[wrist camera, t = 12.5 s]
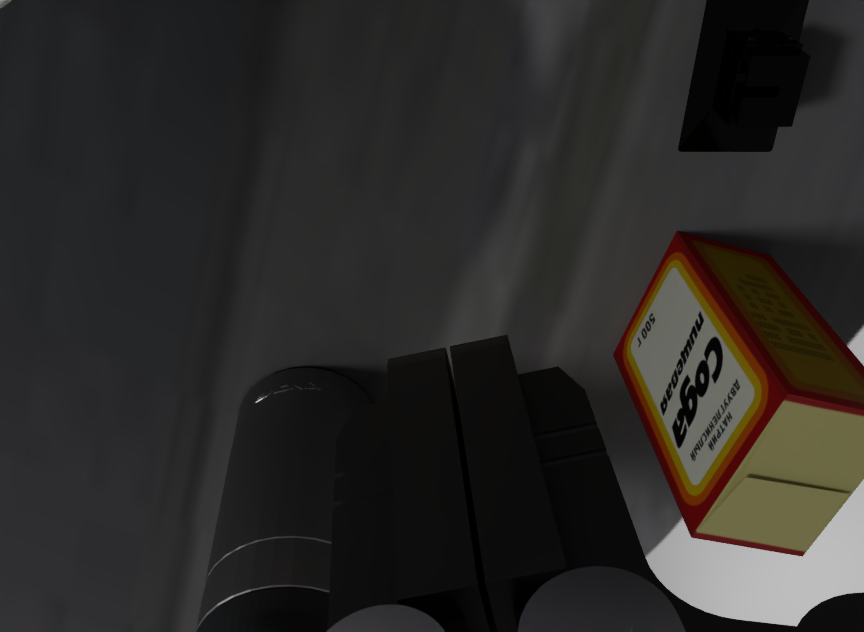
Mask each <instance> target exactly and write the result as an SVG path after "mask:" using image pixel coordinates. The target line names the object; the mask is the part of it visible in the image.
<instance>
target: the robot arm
mask: <svg viewBox="0 0 864 632" xmlns="http://www.w3.org/2000/svg"><path fill="white" fill-rule="evenodd" d="M450 351H451V358H452V365H453V371H454V378H455V384H454V380H453V376H452V371H451V367H450V363H449V359H448V355H447V351H446V348H441V349H436V350H431V351H426V352H421V353H416V354H411V355H406V356H401V357H396V358H391V359H388V389H389V401H384V402H379V403H374V404H372V403H371V401H370V399H369V398H368V396H367V394H366V393H365V392H364V391H363V390H362V389H361V388H360V387H359V386H358V385H357V384H355V383H354V382H352V381H351V380H349V379H348V378H346V377H344V376H341V375H339V374H337V373H334V372H331V371H327V370H322V369H318V368H296V369H288V370H284V371H281V372H277V373H274V374H272V375H270V376H268V377H266V378H264V379H262V380H261V381H260V382H258V383H257V384H256V385H255V386H253V387H252V388H251V389H250V391H249V392H248V393H247V395H246V396H245V397H244V399H243V401H242V404H241V406H240V409H239V413H238V419H237V424H236V429H235V434H234V439H233V444H232V448H231V453H230V458H229V463H228V468H227V473H226V478H225V483H224V488H223V493H222V498H221V504H220V509H219V514H218V519H217V524H216V529H215V534H214V539H213V544H212V549H211V554H210V559H209V564H208V570H207V575H206V580H205V585H204V591H203V596H202V601H201V607H200V612H199V617H198V622H197V627H196V632H864V593H853V594H845V595H841V596H837V597H833V598H831V599H828V600H826V601H823V602H821V603H820V604H818V605H817V606H815V607H814V608H812V609H811V610H810V611H809V612H808V613H807V614H806V615H805V616H804V617H803V618H802V619H801V621H800V623H799V624H798V626H797V627H795V626H787V625H778V624H770V623H761V622H752V621H743V620H736V619H730V618H725V617H720V616H717V615H713V614H710V613H707V612H704V611H702V610H700V609H697V608H695V607H693V606H691V605H689V604H688V603H686V602H684V601H683V600H681V599H679V598H678V597H677V596H675V595H674V594H673V593H672V592H670V591H669V590H668V589H667V588H666V587H665V586H664V585H663V584H662V583H661V582H660V581H659V580H658V579H657V577H656V576H655V574H654V573H653V572H652V570H651V569H650V567H649V565H648V563H647V560H646V558H645V556H644V553H643V550H642V547H641V545H640V542H639V539H638V536H637V534H636V531H635V528H634V525H633V522H632V520H631V517H630V514H629V511H628V509H627V506H626V503H625V500H624V497H623V495H622V492H621V489H620V486H619V484H618V481H617V478H616V475H615V472H614V470H613V467H612V464H611V461H610V459H609V456H608V455H607V452H606V447H605V445H604V442H603V439H602V436H601V433H600V431H599V428H598V427H597V423H596V420H595V417H594V414H593V411H592V408H591V406H590V403H589V400H588V397H587V395H586V392H585V390H584V389H583V388H582V387H581V386H580V385H578V384H577V383H576V382H575V381H574V380H573V379H572V378H571V377H569V376H568V375H567V374H566V373H565V372H564V371H563V370H561V369H560V368H559V367H554V368H549V369H544V370H539V371H534V372H529V373H524V374H518V375H517V371H516V367H515V363H514V359H513V355H512V351H511V347H510V343H509V340H508V336H507V335H504V336H499V337H494V338H489V339H484V340H479V341H474V342H469V343H464V344H459V345H454V346H450ZM455 385H456V388H455ZM456 391H457V393H456Z"/></svg>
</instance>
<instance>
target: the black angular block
mask: <svg viewBox="0 0 864 632" xmlns="http://www.w3.org/2000/svg"><path fill="white" fill-rule="evenodd" d="M808 2H809V0H707V2H706V7H705V12H704V17H703V23H702V28H701V33H700V38H699V43H698V49H697V54H696V59H695V64H694V69H693V74H692V80H691V85H690V90H689V95H688V100H687V106H686V111H685V116H684V121H683V126H682V132H681V137H680V142H679V147H678V150H679V151H680V152H770V151H771V150H772V149H773V145H774V141H775V137H776V133H777V129H778V127H791V126H792V124H793V120H794V116H795V113H796V109H797V105H798V101H799V97H800V93H801V90H802V86H803V82H804V78H805V74H806V70H807V67H808V63H809V59H810V56H809V55H808V54H806V53H805V52H803V51H802V47H803V44H801V43H800V42H799V39H800V34H801V30H802V26H803V22H804V18H805V14H806V10H807V6H808Z"/></svg>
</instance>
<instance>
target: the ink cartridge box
mask: <svg viewBox="0 0 864 632" xmlns="http://www.w3.org/2000/svg"><path fill="white" fill-rule="evenodd" d="M10 1H11V0H0V9H1V8H2V7H3V6H5V5H6V4H7V3H9V2H10Z"/></svg>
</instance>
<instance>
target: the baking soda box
mask: <svg viewBox="0 0 864 632" xmlns="http://www.w3.org/2000/svg"><path fill="white" fill-rule="evenodd" d="M613 356H614V358H615V360H616V363H617V365H618V367H619V370H620V372H621V374H622V377H623V379H624V381H625V384H626V386H627V388H628V391H629V393H630V395H631V398H632V400H633V402H634V405H635V407H636V409H637V412H638V414H639V416H640V419H641V421H642V423H643V426H644V428H645V430H646V433H647V435H648V437H649V440H650V442H651V444H652V447H653V449H654V451H655V454H656V456H657V458H658V461H659V463H660V465H661V468H662V470H663V472H664V475H665V477H666V479H667V482H668V484H669V486H670V489H671V491H672V493H673V496H674V498H675V500H676V503H677V505H678V507H679V510H680V512H681V514H682V517H683V519H684V521H685V524H686V526H687V528H688V531H689V533H690V535H691V537H692V538H698V539H704V540H710V541H716V542H721V543H727V544H733V545H739V546H745V547H751V548H756V549H762V550H768V551H774V552H780V553H786V554H791V555H798V556H803V555H804V554H805V552H806V551H807V550H808V549H809V547H810V546H811V545H812V544H813V542H814V541H815V540H816V538H817V537H818V536H819V535H820V533H821V532H822V531H823V530H824V528H825V527H826V526H827V525H828V523H829V522H830V521H831V520H832V518H833V517H834V516H835V514H836V513H837V512H838V511H839V509H840V508H841V507H842V505H843V504H844V503H845V502H846V501H847V499H848V498H849V497H850V496H851V494H852V493H853V492H854V490H855V489H856V488H857V487H858V485H859V484H860V483H861V481H862V480H863V479H864V366H863V365H862V364H861V362H860V361H859V360H858V359H857V358H856V356H855V355H854V354H853V353H852V352H851V351H850V349H849V348H848V347H847V346H846V344H845V343H844V342H843V341H842V340H841V339H840V337H839V336H838V335H837V334H836V333H835V331H834V330H833V329H832V328H831V327H830V326H829V324H828V323H827V322H826V321H825V320H824V318H823V317H822V316H821V315H820V314H819V313H818V311H817V310H816V309H815V308H814V307H813V305H812V304H811V303H810V302H809V301H808V299H807V298H806V297H805V296H804V295H803V294H802V292H801V291H800V290H799V289H798V288H797V286H796V285H795V284H794V283H793V282H792V281H791V279H790V278H789V277H788V276H787V275H786V273H785V272H784V271H783V270H782V269H781V268H780V266H779V265H778V264H777V263H776V262H775V260H774V259H773V258H772V257H771V256H770V255H766V254H762V253H759V252H755V251H751V250H747V249H743V248H739V247H736V246H732V245H728V244H724V243H720V242H716V241H713V240H709V239H705V238H701V237H697V236H693V235H690V234H686V233H682V232H678V231H677V232H676V234H675V236H674V238H673V240H672V241H671V243H670V245H669V247H668V249H667V251H666V253H665V255H664V257H663V259H662V261H661V263H660V265H659V267H658V269H657V271H656V273H655V274H654V276H653V278H652V280H651V282H650V284H649V286H648V288H647V290H646V292H645V294H644V296H643V298H642V300H641V302H640V304H639V305H638V307H637V309H636V311H635V313H634V315H633V317H632V319H631V321H630V323H629V325H628V327H627V329H626V331H625V333H624V335H623V336H622V338H621V340H620V342H619V344H618V346H617V348H616V350H615V352H614V354H613Z"/></svg>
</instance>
